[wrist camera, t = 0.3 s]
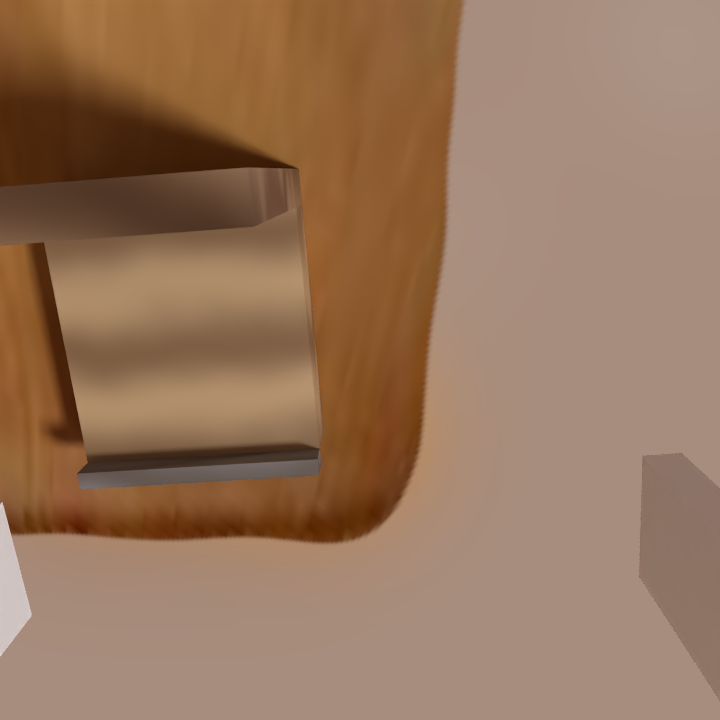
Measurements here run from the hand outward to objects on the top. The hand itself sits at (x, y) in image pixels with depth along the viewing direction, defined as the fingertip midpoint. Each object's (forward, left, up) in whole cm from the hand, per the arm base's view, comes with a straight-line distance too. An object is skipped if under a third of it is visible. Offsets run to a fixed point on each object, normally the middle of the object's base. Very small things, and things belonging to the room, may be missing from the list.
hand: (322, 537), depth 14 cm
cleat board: (+1, -10, -27) cm, 29 cm away
